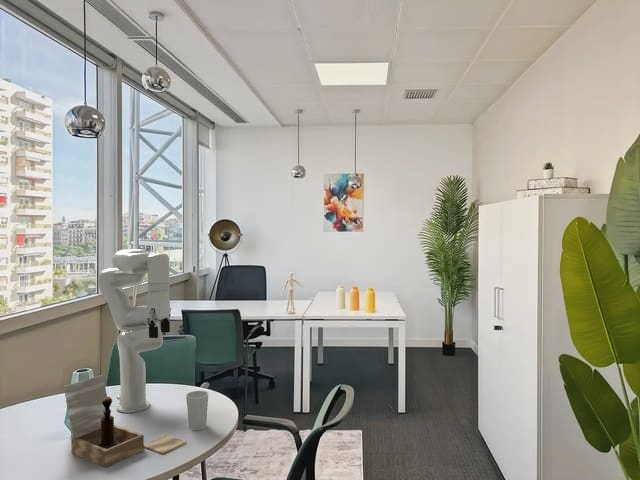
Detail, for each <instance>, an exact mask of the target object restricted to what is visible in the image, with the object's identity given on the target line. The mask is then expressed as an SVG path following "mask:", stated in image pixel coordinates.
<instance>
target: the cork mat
mask: <svg viewBox="0 0 640 480" xmlns="http://www.w3.org/2000/svg"><path fill="white" fill-rule="evenodd" d="M186 444H187V441H186V440H184V439H183V440H182V439H181V438H176V437H174V436H171V435H167V434H165V435H163V436H161V437H160V436H159V437H158V438H156V439H154V440H152V441H150V442H148V443H144V449H146V450H149V451H152V452H153V453H157V454H160V455H165V454H167V453H170V452H172V451H173V450H176V449H177V448H180V447H181V446H183V445H186Z"/></svg>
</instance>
